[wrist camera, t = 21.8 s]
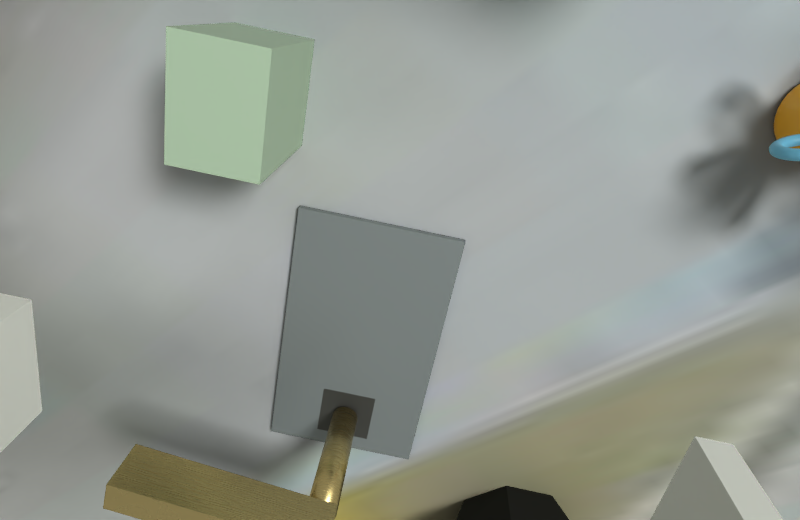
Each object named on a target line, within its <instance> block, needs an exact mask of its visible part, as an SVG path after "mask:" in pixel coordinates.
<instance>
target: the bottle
mask: <svg viewBox="0 0 800 520" xmlns="http://www.w3.org/2000/svg"><path fill="white" fill-rule="evenodd" d="M457 520H569V519H568V518H567V516H566V515H565V513H564V512H563V511H562V509H561V508H560V506H559V505H558V504H557V502H556V501H555V499H554V498H553V496H550V495H545V494H541V493H536V492H532V491H527V490H523V489H518V488H514V487H509V486H505V487H502V488H499V489H496V490H493V491H491V492H488V493H485V494H482V495H479V496H476V497H474V498H471V499H468V500H465V501H464V502H463V505H462V507H461V510H460V512H459V515H458V517H457Z"/></svg>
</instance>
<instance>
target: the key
mask: <svg viewBox="0 0 800 520" xmlns="http://www.w3.org/2000/svg"><path fill="white" fill-rule="evenodd" d="M356 423H357V414H356V412H355V411H354V410H353V409H351V408H348V407H339V408H337V409H336V410H335V411H334V413H333V416H332V419H331V423H330V426H329V430H328V433H327V437H326V440H325V444H324V448H323V451H322V455H321V458H320V462H319V465H318V469H317V472H316V476H315V479H314V483H313V486H312V490H311V494H310V496H307V495H303V494H300V493H297V492H293V491H290V490H287V489H283V488H280V487H277V486H274V485H270V484H267V483H264V482H260V481H257V480H254V479H250V478H247V477H244V476H240V475H237V474H234V473H230V472H227V471H224V470H221V469H217V468H214V467H211V466H207V465H204V464H201V463H197V462H194V461H191V460H187V459H184V458H181V457H178V456H174V455H171V454H168V453H164V452H161V451H158V450H154V449H151V448H148V447H144V446H141V445H138V444H135V446H134V447H133V449H132V450H131V451H130V453H129V454H128V455H127V457H126V458H125V460H124V461H123V462H122V464H121V465H120V467H119V468H118V469H117V471H116V472H115V474H114V475H113V476H112V478H111V479H110V481H109V482H108V483H107V485H106V492H105V499H104V506H103V508H104V509H107V510H111V511H114V512H118V513H121V514H125V515H128V516H131V517H135V518H138V519H142V520H334V519H335V517H336V514H337V510H338V505H339V501H340V496H341V491H342V487H343V482H344V478H345V473H346V469H347V464H348V460H349V455H350V450H351V446H352V441H353V437H354V432H355V428H356Z"/></svg>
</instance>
